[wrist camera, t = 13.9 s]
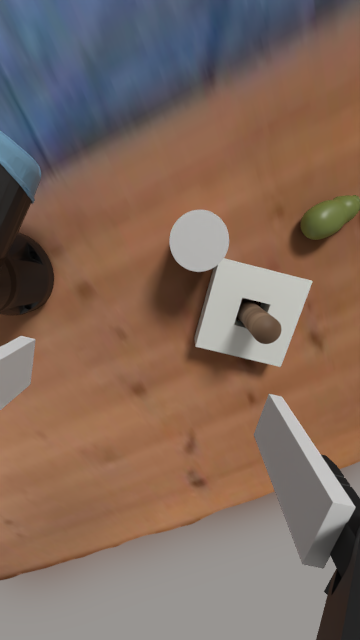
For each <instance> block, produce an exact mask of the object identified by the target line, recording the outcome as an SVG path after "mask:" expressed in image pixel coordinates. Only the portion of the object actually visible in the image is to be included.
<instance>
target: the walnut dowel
mask: <svg viewBox="0 0 360 640" xmlns="http://www.w3.org/2000/svg"><path fill="white" fill-rule="evenodd" d="M237 317H238V318H239V319H240V321H241V322H242V323H243V324H244V326H245V327H246V328H247V329H248V331H249V332H250V333H251V334H252V336H253V337H254V338H255V339H256V340H257V341H258V342H260V343H262V344H270V343H273V342H275V341H276V340H277V339H278V338H279V336H280V334H281V324H280V323H279V321H278V320H277V319H275V318H274V317H273V316H271V315H270V314H269V313H267V312H266V311H265V310H263V309H262V308H261V307H259V306H258V305H257V304H255V303H254V302H253V301H251V300H249V299H243V300H241V304H240V307H239V310H238V313H237Z"/></svg>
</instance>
